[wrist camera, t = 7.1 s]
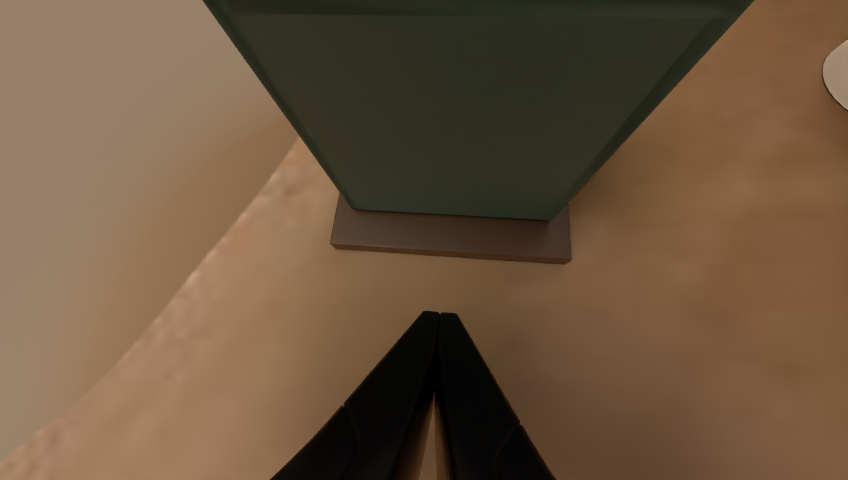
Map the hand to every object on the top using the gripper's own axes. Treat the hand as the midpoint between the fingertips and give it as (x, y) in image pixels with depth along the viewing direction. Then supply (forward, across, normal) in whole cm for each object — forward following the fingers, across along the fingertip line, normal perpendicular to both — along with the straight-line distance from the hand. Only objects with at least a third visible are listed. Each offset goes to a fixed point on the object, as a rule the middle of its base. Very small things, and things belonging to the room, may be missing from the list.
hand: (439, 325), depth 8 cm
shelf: (+12, 0, -1) cm, 12 cm away
